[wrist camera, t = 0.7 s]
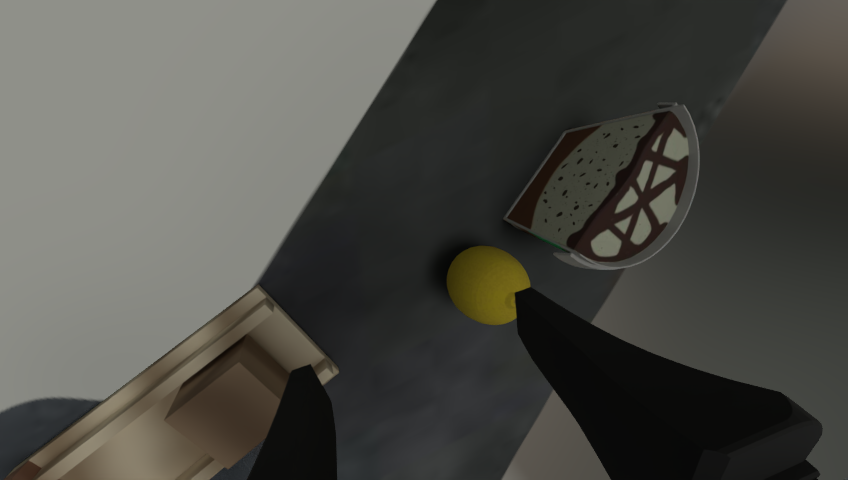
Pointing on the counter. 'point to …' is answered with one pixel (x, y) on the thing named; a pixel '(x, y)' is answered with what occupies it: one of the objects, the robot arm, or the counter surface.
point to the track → (168, 403)
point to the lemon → (486, 284)
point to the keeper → (230, 402)
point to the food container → (613, 189)
